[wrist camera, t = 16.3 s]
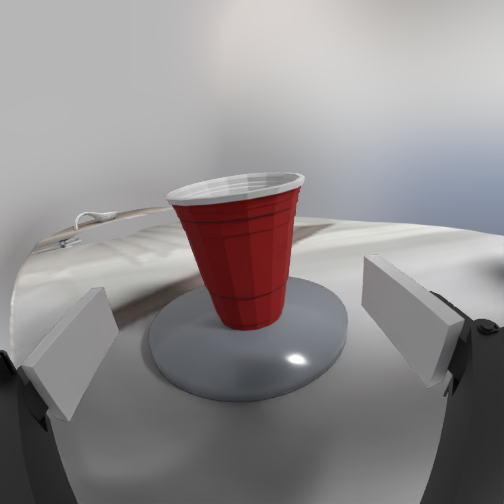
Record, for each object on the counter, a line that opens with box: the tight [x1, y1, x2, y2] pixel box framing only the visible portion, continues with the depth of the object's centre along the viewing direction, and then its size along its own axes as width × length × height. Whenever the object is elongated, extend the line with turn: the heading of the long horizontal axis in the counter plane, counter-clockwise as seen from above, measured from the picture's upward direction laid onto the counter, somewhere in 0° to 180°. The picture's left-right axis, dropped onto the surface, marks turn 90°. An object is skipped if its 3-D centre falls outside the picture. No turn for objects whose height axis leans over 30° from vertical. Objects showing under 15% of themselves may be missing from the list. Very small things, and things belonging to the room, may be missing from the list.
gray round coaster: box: [148, 277, 348, 402], centre depth 24 cm, size 18×18×2 cm
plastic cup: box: [165, 172, 305, 331], centre depth 22 cm, size 11×11×12 cm
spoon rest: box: [74, 212, 117, 230], centre depth 114 cm, size 24×12×7 cm, turn 141°
